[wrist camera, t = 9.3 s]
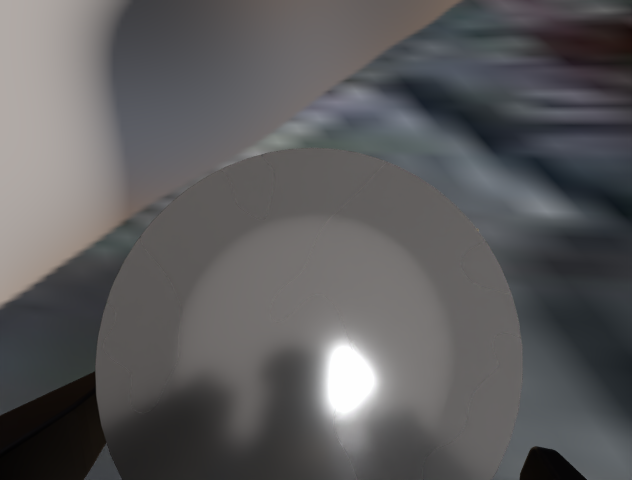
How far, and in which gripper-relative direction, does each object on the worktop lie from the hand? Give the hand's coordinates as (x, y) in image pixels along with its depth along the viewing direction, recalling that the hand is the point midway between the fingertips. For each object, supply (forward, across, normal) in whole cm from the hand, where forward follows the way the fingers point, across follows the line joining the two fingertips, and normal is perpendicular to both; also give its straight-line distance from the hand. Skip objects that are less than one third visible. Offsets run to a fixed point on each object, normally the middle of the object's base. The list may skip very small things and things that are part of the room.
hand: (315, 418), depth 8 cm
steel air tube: (+7, 0, +5) cm, 9 cm away
